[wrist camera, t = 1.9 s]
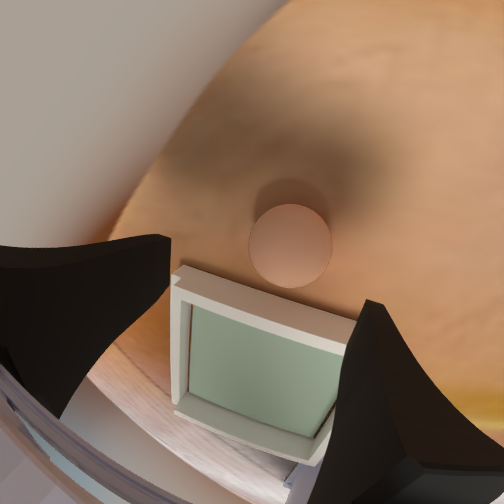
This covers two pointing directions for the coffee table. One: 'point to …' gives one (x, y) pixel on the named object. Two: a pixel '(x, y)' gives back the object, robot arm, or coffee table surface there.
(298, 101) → the coffee table surface
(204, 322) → the mat
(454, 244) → the coffee table surface
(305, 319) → the tray
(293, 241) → the ball
